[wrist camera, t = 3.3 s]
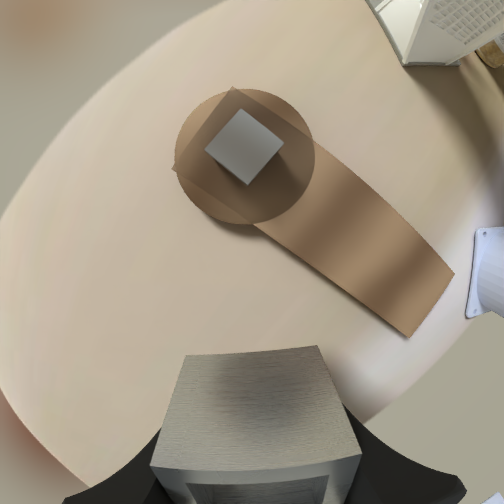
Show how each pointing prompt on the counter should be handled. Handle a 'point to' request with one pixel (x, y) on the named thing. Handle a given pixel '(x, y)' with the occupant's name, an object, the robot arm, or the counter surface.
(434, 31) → the skyscraper
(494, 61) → the sprinkles bottle
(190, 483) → the steel collar
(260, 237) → the counter surface
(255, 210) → the walnut base
